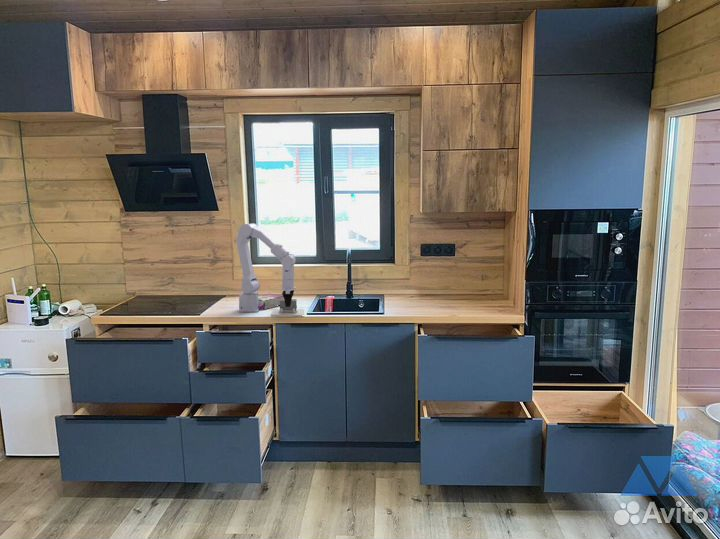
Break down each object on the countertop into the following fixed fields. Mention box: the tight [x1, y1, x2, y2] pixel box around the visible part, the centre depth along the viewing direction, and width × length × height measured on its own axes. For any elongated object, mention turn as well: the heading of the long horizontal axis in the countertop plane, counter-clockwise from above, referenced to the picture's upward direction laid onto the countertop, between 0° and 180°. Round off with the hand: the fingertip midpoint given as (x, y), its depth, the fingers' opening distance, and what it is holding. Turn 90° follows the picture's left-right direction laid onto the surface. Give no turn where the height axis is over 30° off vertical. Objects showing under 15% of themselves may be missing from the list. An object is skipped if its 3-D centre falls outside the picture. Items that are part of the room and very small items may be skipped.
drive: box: [279, 298, 298, 311], centre depth 271 cm, size 8×4×5 cm, turn 95°
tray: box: [270, 308, 305, 317], centre depth 271 cm, size 16×14×3 cm
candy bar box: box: [258, 293, 284, 310], centre depth 288 cm, size 11×5×16 cm
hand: (288, 305), depth 271 cm, fingers closed on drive, 4 cm apart
